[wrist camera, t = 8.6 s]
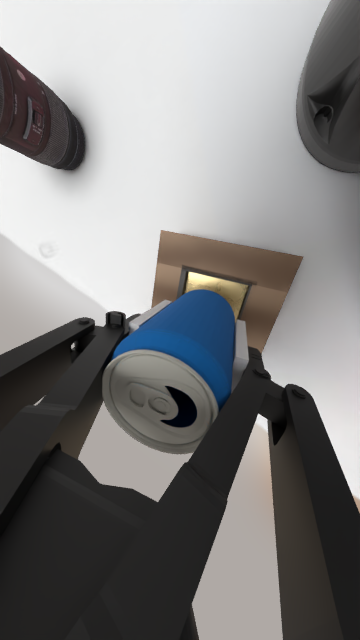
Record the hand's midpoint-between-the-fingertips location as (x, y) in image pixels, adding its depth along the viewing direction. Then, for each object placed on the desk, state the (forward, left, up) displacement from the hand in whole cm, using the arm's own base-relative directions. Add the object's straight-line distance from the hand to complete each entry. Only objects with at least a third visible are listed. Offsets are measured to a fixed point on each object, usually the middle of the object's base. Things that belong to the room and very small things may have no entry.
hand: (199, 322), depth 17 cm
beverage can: (0, 0, -2) cm, 2 cm away
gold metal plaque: (0, 0, -8) cm, 8 cm away
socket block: (0, 0, -12) cm, 12 cm away
